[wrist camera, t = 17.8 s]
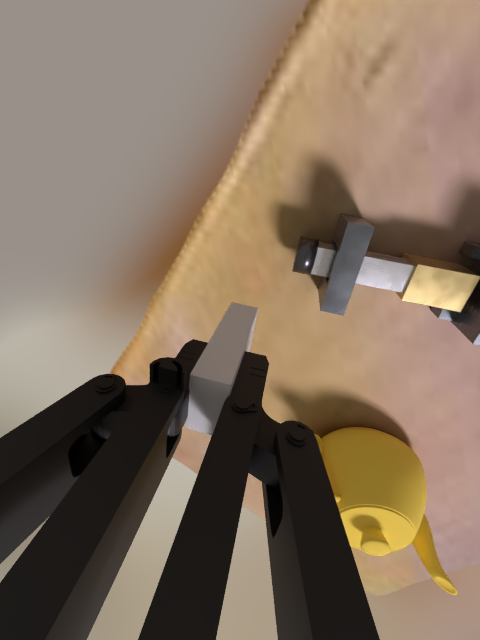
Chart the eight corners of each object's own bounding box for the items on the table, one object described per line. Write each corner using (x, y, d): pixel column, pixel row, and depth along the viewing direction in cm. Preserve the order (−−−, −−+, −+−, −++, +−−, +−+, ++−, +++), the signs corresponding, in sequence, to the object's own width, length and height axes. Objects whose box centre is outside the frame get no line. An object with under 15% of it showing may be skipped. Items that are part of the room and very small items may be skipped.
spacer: (403, 252, 33) (418, 264, 29) (457, 262, 33) (481, 276, 28) (389, 284, 35) (401, 300, 31) (440, 294, 35) (460, 312, 30)
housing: (318, 289, 37) (320, 312, 31) (340, 214, 33) (348, 223, 27) (460, 319, 35) (492, 350, 29) (504, 243, 31) (553, 260, 25)
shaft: (293, 265, 36) (291, 275, 32) (300, 233, 34) (300, 239, 30) (392, 286, 34) (402, 298, 31) (406, 253, 32) (419, 262, 29)
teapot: (465, 475, 46) (521, 581, 34) (380, 517, 54) (402, 613, 43) (341, 392, 44) (355, 474, 32) (273, 449, 52) (264, 531, 40)
